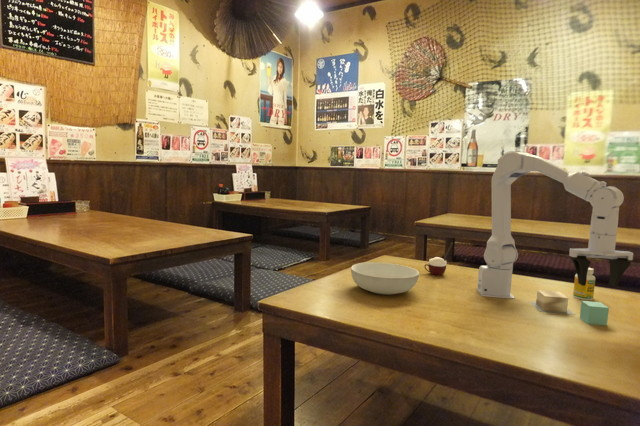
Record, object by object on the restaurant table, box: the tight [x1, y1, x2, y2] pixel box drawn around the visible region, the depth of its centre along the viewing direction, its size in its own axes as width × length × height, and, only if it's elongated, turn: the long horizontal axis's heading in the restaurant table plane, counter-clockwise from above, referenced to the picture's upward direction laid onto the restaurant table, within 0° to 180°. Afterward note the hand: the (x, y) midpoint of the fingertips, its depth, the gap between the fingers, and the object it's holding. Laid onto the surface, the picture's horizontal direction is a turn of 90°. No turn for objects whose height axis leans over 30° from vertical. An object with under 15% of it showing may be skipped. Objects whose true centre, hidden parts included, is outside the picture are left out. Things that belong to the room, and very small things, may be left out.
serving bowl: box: [350, 261, 420, 296], centre depth 130 cm, size 21×21×7 cm
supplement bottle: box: [572, 267, 596, 301], centre depth 129 cm, size 5×5×10 cm
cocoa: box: [423, 242, 454, 276], centre depth 152 cm, size 10×6×12 cm, turn 58°
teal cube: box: [579, 300, 610, 326], centre depth 108 cm, size 4×4×5 cm
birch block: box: [535, 289, 569, 312], centre depth 118 cm, size 6×6×4 cm
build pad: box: [528, 300, 576, 316], centre depth 118 cm, size 9×9×1 cm
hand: (597, 285), depth 108 cm, fingers open, 7 cm apart
